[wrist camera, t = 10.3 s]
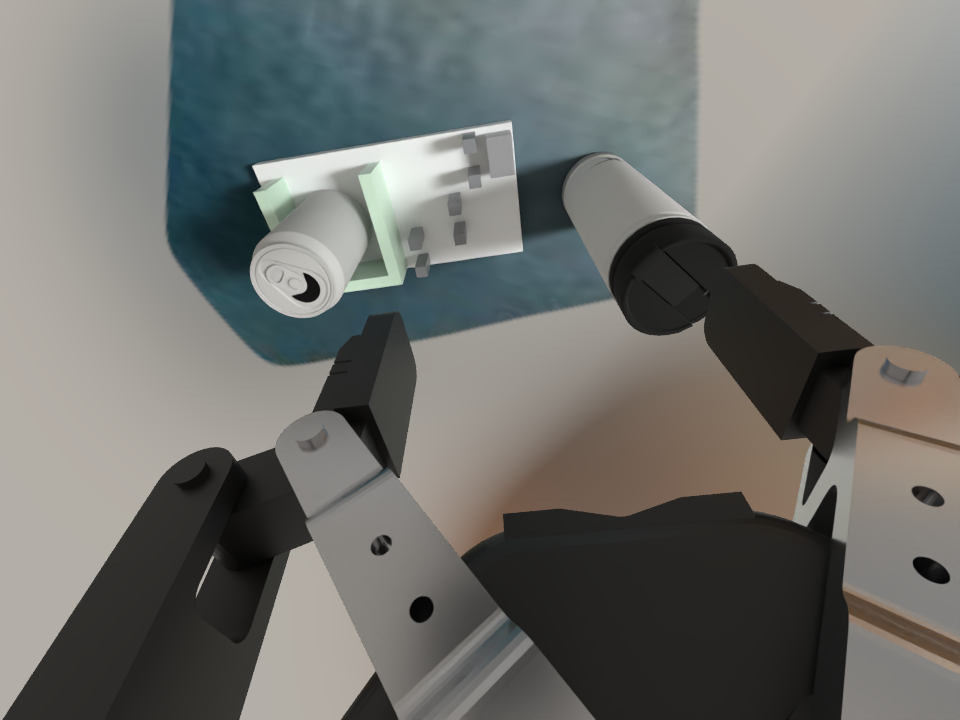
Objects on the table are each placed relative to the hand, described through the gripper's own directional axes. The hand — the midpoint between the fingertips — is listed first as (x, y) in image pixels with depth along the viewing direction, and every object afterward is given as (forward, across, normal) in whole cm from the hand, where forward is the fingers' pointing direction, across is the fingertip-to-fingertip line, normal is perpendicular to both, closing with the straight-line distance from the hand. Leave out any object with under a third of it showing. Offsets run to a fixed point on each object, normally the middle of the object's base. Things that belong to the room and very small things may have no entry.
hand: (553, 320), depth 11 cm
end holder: (+29, +15, +6) cm, 33 cm away
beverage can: (+29, +16, +5) cm, 33 cm away
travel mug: (+30, -8, +6) cm, 32 cm away
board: (+30, +10, +5) cm, 32 cm away
